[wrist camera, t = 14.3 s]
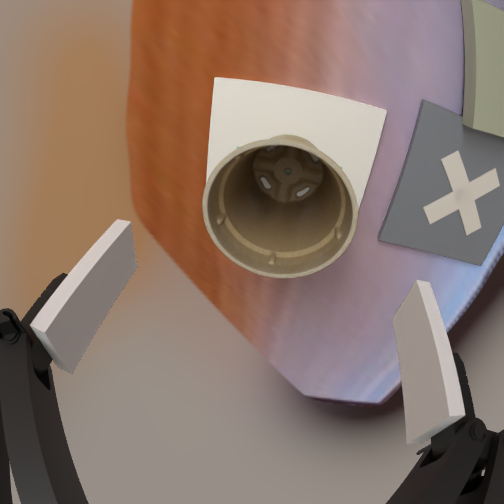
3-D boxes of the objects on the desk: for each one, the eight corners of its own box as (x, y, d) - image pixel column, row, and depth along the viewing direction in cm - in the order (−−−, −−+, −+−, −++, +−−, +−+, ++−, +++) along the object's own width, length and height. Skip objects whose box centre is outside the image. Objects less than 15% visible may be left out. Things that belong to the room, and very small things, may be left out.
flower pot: (214, 182, 26) (179, 233, 19) (268, 92, 21) (248, 107, 14) (301, 234, 28) (297, 298, 21) (364, 157, 23) (389, 202, 16)
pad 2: (422, 99, 19) (425, 100, 18) (528, 154, 18) (532, 156, 18) (377, 236, 27) (379, 240, 27) (479, 262, 27) (481, 266, 26)
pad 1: (216, 77, 21) (214, 77, 21) (385, 109, 20) (387, 111, 20) (206, 219, 30) (203, 223, 29) (343, 246, 29) (344, 251, 28)
